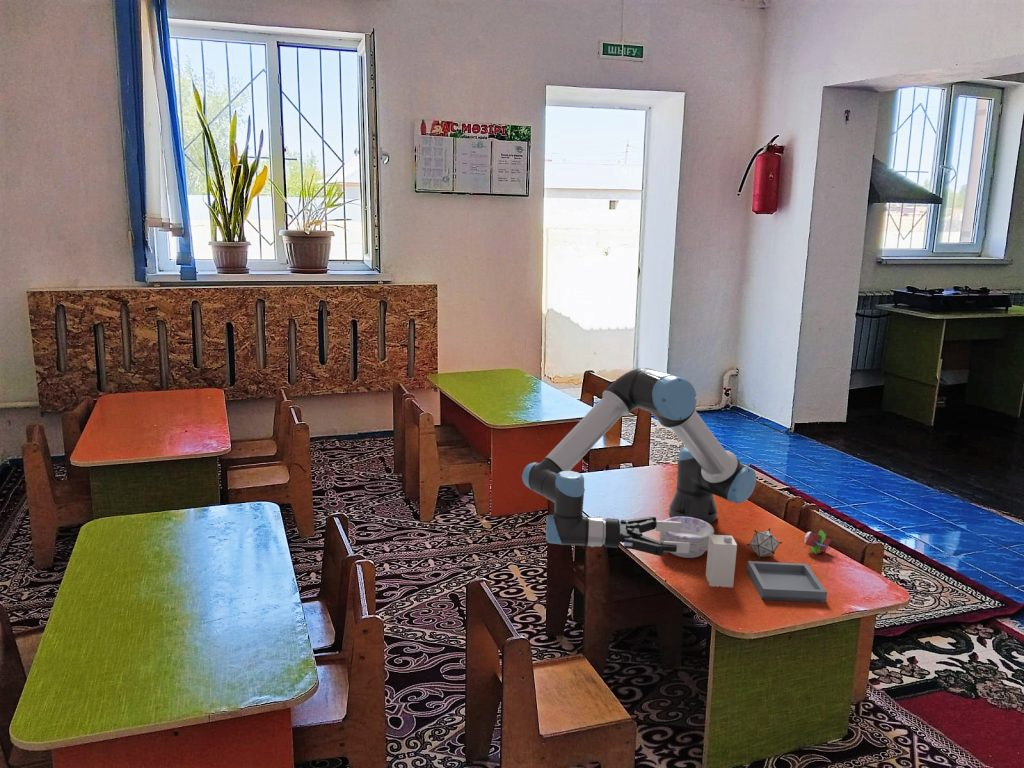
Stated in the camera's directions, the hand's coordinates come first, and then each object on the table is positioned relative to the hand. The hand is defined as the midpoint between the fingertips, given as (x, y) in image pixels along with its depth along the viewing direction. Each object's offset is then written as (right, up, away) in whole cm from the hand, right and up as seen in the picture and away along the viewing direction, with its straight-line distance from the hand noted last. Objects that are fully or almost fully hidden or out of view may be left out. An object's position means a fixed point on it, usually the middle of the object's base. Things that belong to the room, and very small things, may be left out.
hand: (684, 537), depth 203 cm
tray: (+27, -13, +1) cm, 30 cm away
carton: (+10, -12, +2) cm, 16 cm away
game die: (+27, -9, +18) cm, 34 cm away
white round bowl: (+5, -8, +20) cm, 23 cm away
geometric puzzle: (+44, -9, +22) cm, 50 cm away
